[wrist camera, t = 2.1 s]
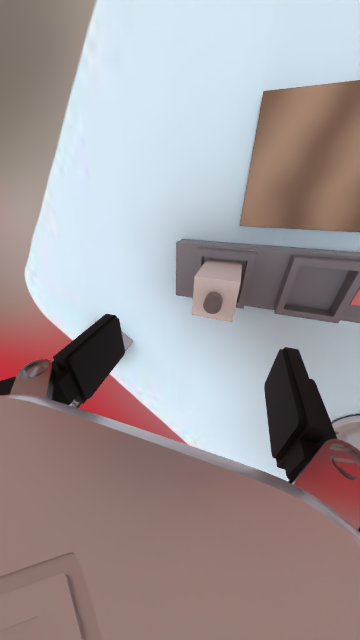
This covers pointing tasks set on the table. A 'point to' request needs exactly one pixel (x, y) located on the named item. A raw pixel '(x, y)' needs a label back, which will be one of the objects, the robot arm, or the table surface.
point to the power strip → (281, 278)
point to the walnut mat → (306, 160)
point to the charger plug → (217, 289)
